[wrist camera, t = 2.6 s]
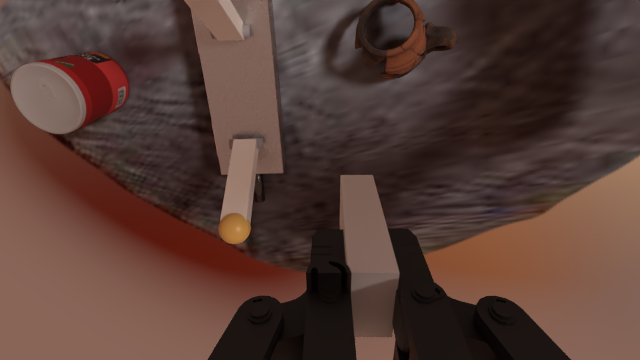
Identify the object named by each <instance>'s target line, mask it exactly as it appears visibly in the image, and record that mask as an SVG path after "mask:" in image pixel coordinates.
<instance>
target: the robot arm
mask: <svg viewBox="0 0 640 360" xmlns="http://www.w3.org/2000/svg"><path fill="white" fill-rule="evenodd" d="M306 280H307V290H306V292H305V293H304V294H303V295H301V296H300V297H298V298H297V299H295V300H292V301H289V302H285V303H280V302H279V301H278V300H277V299H275V298H272V297H270V296H257V297H253V298H251V299H249V300H247V301H245V302H244V303H243V304H242V305H241V306H240V307H239V309H238V310H237V312H236V314H235V315H234V317H233V319H232V320H231V322H230V324H229V325H228V327H227V328H226V330H225V332H224V333H223V335H222V337H221V338H220V340H219V342H218V343H217V345H216V347H215V348H214V350H213V352H212V353H211V355H210V357H209V358H208V360H356V349H355V337H392V332H393V329H394V333H395V338H396V341H395V349H394V357H393V360H571V359H570V358H569V357H568V356H567V355H566V354H565V353H564V352H563V351H562V350H561V349H560V348H559V347H558V346H557V345H556V344H555V343H554V342H553V341H552V339H551V338H550V337H549V336H548V335H547V334H546V333H545V332H544V331H543V330H542V329H541V328H540V327H539V326H538V325H537V324H536V323H535V322H534V321H533V320H532V319H531V318H530V317H529V316H528V315H527V313H526V312H525V311H524V310H523V309H521V308H520V307H519V306H518V305H517V304H515V303H514V302H512V301H510V300H508V299H505V298H502V297H498V296H486V297H484V298H481V299H480V300H479V301H478V303H477V305H473V304H469V303H465V302H461V301H458V300H455V299H452V298H450V297H448V296H447V294H446V293H445V291H444V290H443V289H442V288H441V287H440V286H439V285H437V284H436V283H434V281H433V279H432V276H431V273H430V271H429V268H428V265H427V263H426V260H425V258H424V255H423V253H422V250H421V247H420V245H419V242H418V240H417V237H416V236H415V235H414V234H413V233H412V232H411V231H410V230H409V229H387V225H386V221H385V218H384V214H383V210H382V207H381V203H380V199H379V196H378V192H377V188H376V185H375V181H374V177H373V175H341V177H340V229H318V230H317V232H316V233H315V234H314V236H313V237H312V250H311V265H310V266H309V267H308V269H307V272H306Z"/></svg>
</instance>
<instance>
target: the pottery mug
mask: <svg viewBox="0 0 640 360" xmlns="http://www.w3.org/2000/svg"><path fill="white" fill-rule="evenodd" d="M399 2H400V3H401V4H404V5H406V6H407V7H408V8H409V9H410V10H411V12H412V13H413V16H414V22H415V23H414V29H413V31H412V33H411V35H410V37H409V38H408V39H407V40H406V41H405V42H404V43H403V44H402V45H400V46H398V47H396V48H394V49H390V50H380V49H376V48H375V47H373V46H372V45H370V44H369V42H368V41H367V40H366V37H365V25H366V22H367V19H368V18H369V16H370V15H371V14H372V12H373V11H374V10H375V9H377V8H378V7H380V6H382V5H384V4H386V3H391V4H394V3H399ZM425 20H426V19H425V16H424V14H423V13H422V11H421V10H420V8H419V7H418V5H417V4H416V2H415V1H414V0H373V1H372V2H370V3H369V4H368V5H367V7H366V8H365V9H364V11H363V13H362V14H361V17H360V18H359V22H358V24H357V28H356V38H355V48H356V49H357V48H360V47H363V57H364V59H365V60H366V64H367V65H368V66H369V67H371V68H374V67H375V65H376V64H378V63H379V62H381V61H383V60H384V59H386V67H385V72H386V73H388V74H386V73H382V74H381V77H383V78H388V79H389V78H392V79H394V78H400V77H402V76H404V75H406V74H408V73H409V72H411V71H412V70H413V69H414V68H415V67H416V66H417V65H418V64H419V63H420V62H421V61H422V60H423V59H424V58H425V55H426V54H428V53H430V52H432V51H444V50H450V49H452V48H453V46H454V45H455V44H456V42H457V37H456V34H455V32H454V30H453V29H451V28H447V27H438V26H434V25H433V24H432V23H431V22H428V23H427V24H426V25H425V26H424V24H423V21H425Z"/></svg>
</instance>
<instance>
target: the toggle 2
mask: <svg viewBox="0 0 640 360" xmlns="http://www.w3.org/2000/svg"><path fill="white" fill-rule="evenodd" d="M263 146H264V143H263V138H256V139H230V140H229V148H230V150H232V153H231V159H230V165H229V171H228V177H227V183H226V189H225V195H224V201H223V207H222V213H221V219H220V224H219V234H220V236H221V238H222V239H223V240H224V241H225V242H227V243H230V244H238V243H241V242H243V241H244V240H245V239H246V238H247V237H248V236H249V234H250V230H251V226H250V222H251V213H252V204H253V195H254V187H255V178H256V169H257V160H258V151H259V149H263Z"/></svg>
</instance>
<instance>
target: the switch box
mask: <svg viewBox="0 0 640 360" xmlns="http://www.w3.org/2000/svg"><path fill="white" fill-rule="evenodd" d="M230 1H231V2H232V4H233V6H234V8H235V9H236V11H237V13H238V15H239V16H240V18H241V20H242V21H243V25H249V26H250V30H251V37H250V38H244V40H229V41H218V40H217V39H212V37H211V34H210V31H209V29H208V28H207V27H206V26H205V25H204V23H203V22H202V21H201V20H200V19H199V18H198V16H197V15H196V14H195V13H194V12H193V11H192V9H191V13H192V19H193V24H194V30H195V35H196V40H197V46H198V51H199V54H200V60H201V65H202V71H203V76H204V82H205V87H206V93H207V98H208V103H209V109H210V114H211V120H212V127H213V133H214V138H215V144H216V149H217V155H218V158H219V163H220V169H221V174H222V175H228V171H229V165H230V159H231V153H232V150H230V148H229V140H230V139H256V138H263V143H264V146H263V149H259V151H258V160H257V169H256V178H255V187H254V196H255V201H256V202H263V201H265V193H264V185H263V177H262V174H265V173H283V172H284V168H285V164H286V157H285V145H284V133H283V122H282V110H281V98H280V87H279V75H278V64H277V52H276V40H275V29H274V17H273V5H272V0H230Z"/></svg>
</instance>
